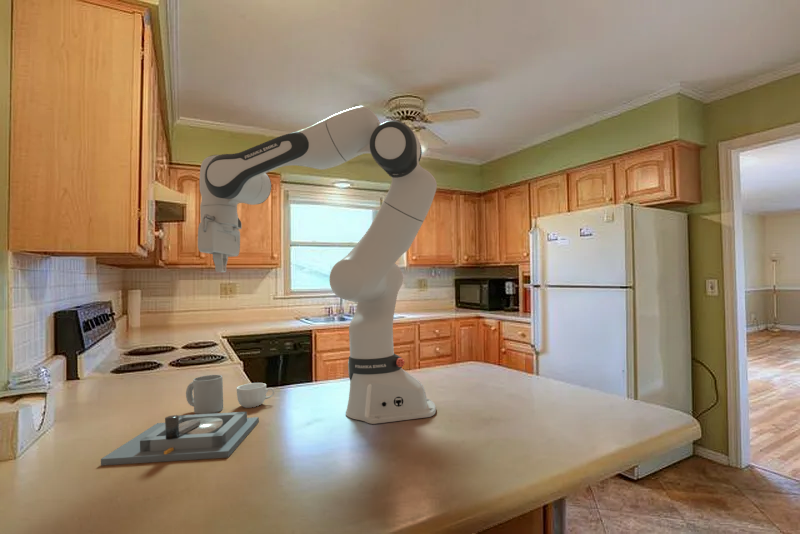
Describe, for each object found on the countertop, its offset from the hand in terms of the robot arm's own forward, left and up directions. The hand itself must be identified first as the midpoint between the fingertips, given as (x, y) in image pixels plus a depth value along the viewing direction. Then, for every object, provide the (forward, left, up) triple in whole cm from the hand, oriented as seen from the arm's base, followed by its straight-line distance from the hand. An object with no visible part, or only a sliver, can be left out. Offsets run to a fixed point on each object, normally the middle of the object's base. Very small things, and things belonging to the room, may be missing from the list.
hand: (221, 272), depth 112 cm
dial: (0, +19, -36) cm, 40 cm away
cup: (+8, -6, -37) cm, 39 cm away
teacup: (-5, -9, -37) cm, 39 cm away
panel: (+2, +17, -37) cm, 41 cm away
